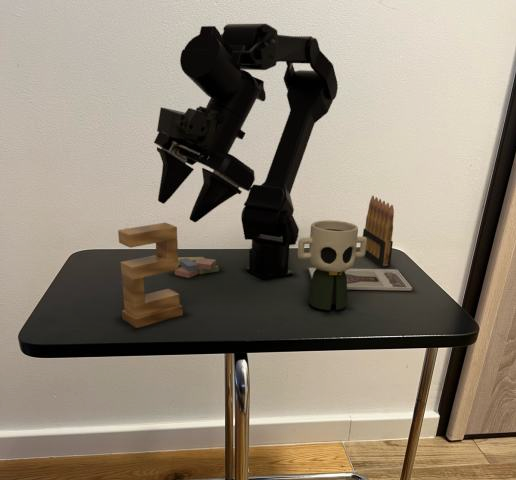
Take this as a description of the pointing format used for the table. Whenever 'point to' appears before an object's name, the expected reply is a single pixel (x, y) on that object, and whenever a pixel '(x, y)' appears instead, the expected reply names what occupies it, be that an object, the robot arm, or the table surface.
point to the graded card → (374, 279)
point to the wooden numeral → (166, 259)
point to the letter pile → (195, 266)
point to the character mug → (331, 261)
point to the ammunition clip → (379, 232)
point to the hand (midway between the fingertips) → (175, 211)
